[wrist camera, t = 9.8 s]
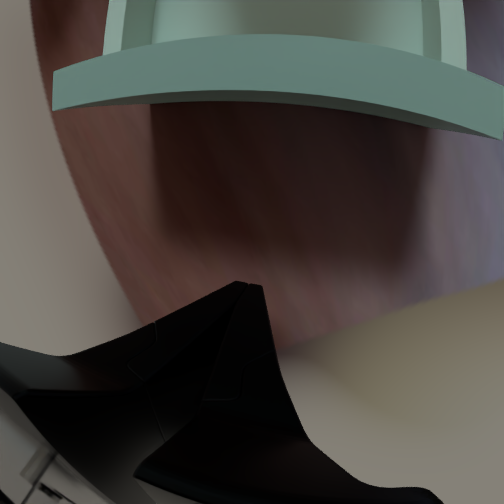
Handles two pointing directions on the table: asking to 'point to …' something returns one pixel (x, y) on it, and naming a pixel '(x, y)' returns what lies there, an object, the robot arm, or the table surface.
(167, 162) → the table surface
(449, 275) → the table surface
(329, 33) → the tray
